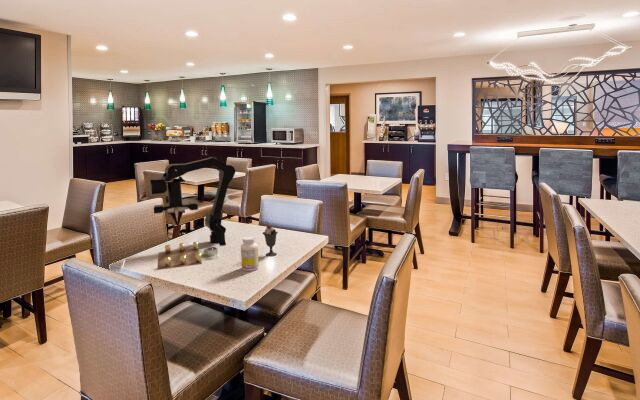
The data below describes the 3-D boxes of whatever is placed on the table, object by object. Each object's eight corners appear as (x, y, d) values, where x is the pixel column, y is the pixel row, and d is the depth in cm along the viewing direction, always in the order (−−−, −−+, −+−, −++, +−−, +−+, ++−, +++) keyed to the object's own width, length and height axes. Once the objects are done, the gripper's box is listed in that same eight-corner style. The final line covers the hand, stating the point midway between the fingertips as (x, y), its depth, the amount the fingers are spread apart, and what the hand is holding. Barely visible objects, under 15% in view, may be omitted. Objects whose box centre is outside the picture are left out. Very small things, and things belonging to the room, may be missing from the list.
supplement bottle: (250, 264, 166) (248, 234, 164) (262, 267, 162) (260, 237, 160) (238, 269, 161) (236, 238, 158) (250, 272, 157) (248, 241, 155)
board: (213, 248, 189) (213, 245, 189) (219, 264, 167) (219, 261, 167) (158, 254, 181) (158, 252, 181) (157, 272, 159) (157, 269, 159)
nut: (217, 251, 180) (217, 246, 179) (218, 255, 175) (217, 249, 175) (204, 253, 178) (203, 247, 178) (204, 256, 173) (203, 250, 173)
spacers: (198, 248, 185) (197, 241, 184) (201, 262, 166) (201, 254, 166) (165, 252, 180) (164, 245, 179) (165, 267, 161) (164, 258, 161)
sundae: (263, 252, 182) (262, 220, 179) (278, 251, 182) (277, 219, 179) (263, 257, 175) (261, 223, 172) (278, 256, 176) (277, 223, 173)
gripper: (195, 188, 191) (197, 220, 194) (153, 191, 185) (156, 224, 188) (196, 191, 181) (199, 225, 184) (152, 195, 175) (155, 229, 178)
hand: (177, 225), depth 184 cm, fingers closed
